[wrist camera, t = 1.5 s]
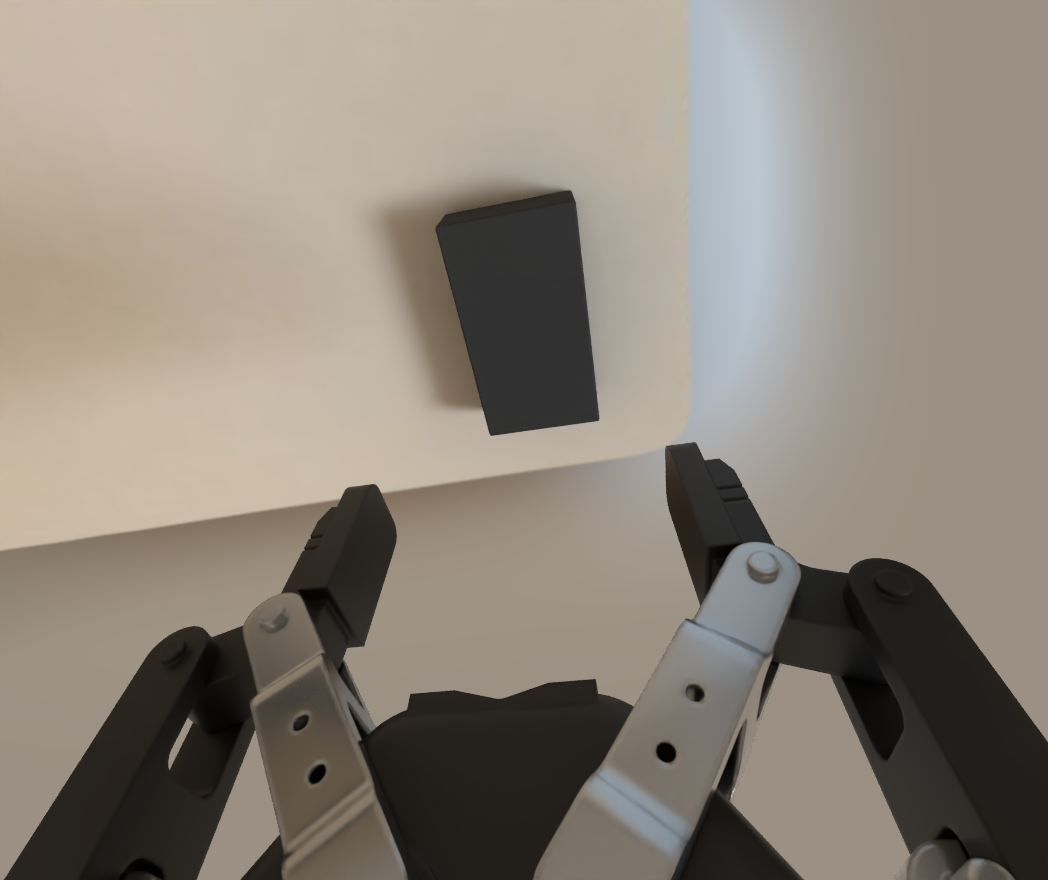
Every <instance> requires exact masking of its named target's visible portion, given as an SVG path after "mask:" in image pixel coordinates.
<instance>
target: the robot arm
mask: <svg viewBox="0 0 1048 880" xmlns="http://www.w3.org/2000/svg"><path fill="white" fill-rule="evenodd" d="M665 459H666V460H665V461H666V494H667V502H668V506H669V511H670V514H671V517H672V521H673V524H674V526H675V530H676V533H677V536H678V539H679V542H680V545H681V548H682V551H683V554H684V557H685V560H686V563H687V566H688V570H689V573H690V576H691V579H692V582H693V585H694V588H695V591H696V594H697V597H698V600H699V603H700V608H699V610H698V612H697V614H696V615H695V617H694V618H693V619H692V620H690V619H685V620H684V621H683V622H682V623H681V625H680V626H679V628H678V629H677V631H676V633H675V635H674V636H673V638H672V640H671V642H670V644H669V645H668V647H667V649H666V651H665V653H664V654H663V656H662V658H661V660H660V661H659V664H658V665H657V667H656V669H655V670H654V672H653V674H652V676H651V678H650V679H649V681H648V683H647V685H646V686H645V688H644V690H643V692H642V693H641V695H640V697H639V699H638V700H637V702H636V704H635V706H634V707H633V706H632V705H630V704H628V703H626V702H624V701H621V700H619V699H616V698H613V697H610V696H607V695H602V694H598V690H597V684H596V679H592V680H578V681H566V682H553V683H547V684H544V685H541V686H538V687H535V688H532V689H529V690H527V691H524V692H521V693H518V694H515V695H512V696H509V697H506V698H503V699H494V698H490V697H485V696H480V695H475V694H470V693H464V692H460V691H455V690H454V691H442V692H429V693H417V694H410V699H409V704H408V708H407V710H406V711H403V712H401V713H399V714H397V715H395V716H393V717H391V718H389V719H388V720H386V721H385V722H383V723H382V724H380V725H379V726H378V727H376V726H375V724H374V722H373V720H372V719H371V717H370V714H369V712H368V710H367V708H366V706H365V703H364V701H363V699H362V697H361V695H360V693H359V690H358V688H357V686H356V684H355V682H354V679H353V677H352V675H351V673H350V671H349V669H348V666H347V664H346V663H345V661H344V660H343V657H344V655H345V652H346V649H347V648H351V647H361V646H364V645H365V641H366V638H367V635H368V632H369V629H370V625H371V622H372V618H373V616H374V612H375V609H376V606H377V602H378V600H379V596H380V593H381V590H382V587H383V584H384V580H385V577H386V574H387V570H388V568H389V564H390V561H391V558H392V555H393V551H394V548H395V545H396V538H397V535H396V527H395V523H394V521H393V519H392V516H391V514H390V512H389V510H388V507H387V505H386V503H385V501H384V499H383V496H382V494H381V492H380V490H379V488H378V487H377V486H376V485H375V484H370V485H363V486H355V487H349V488H347V489H346V490H345V492H344V494H343V496H342V498H341V500H340V502H339V504H338V506H337V507H332V508H331V509H330V510H329V511H328V512H327V513H326V514H325V515H324V516H323V517H322V518H321V519H320V520H319V521H318V522H317V524H316V526H315V529H314V530H313V532H312V534H311V539H309V540H308V542H307V544H306V546H305V548H304V549H305V551H303V552H302V554H301V556H300V558H299V559H298V562H297V563H296V565H295V567H294V570H293V571H292V573H291V575H290V577H289V579H288V581H287V583H286V585H285V587H284V589H283V591H282V593H281V594H278V595H276V596H273V597H271V598H269V599H267V600H266V601H264V602H263V603H261V604H260V605H259V606H258V607H256V609H254V610H253V611H252V613H251V614H250V615H249V616H248V618H247V619H246V621H245V623H244V625H243V626H241V627H238V628H236V629H233V630H231V631H228V632H225V633H222V634H220V635H217V636H214V637H211V636H210V635H209V634H208V633H207V632H206V631H205V630H204V629H203V628H201V627H196V626H192V627H187V628H184V629H181V630H178V631H176V632H174V633H173V634H171V635H169V636H168V637H166V638H165V639H163V640H162V641H161V642H160V643H159V644H158V645H156V646H155V647H154V648H153V650H152V651H151V652H150V653H149V654H148V656H147V657H146V659H145V660H144V662H143V663H142V665H141V666H140V668H139V670H138V671H137V673H136V674H135V676H134V677H133V679H132V680H131V682H130V684H129V685H128V687H127V689H126V690H125V692H124V693H123V695H122V696H121V698H120V699H119V701H118V702H117V704H116V705H115V707H114V709H113V711H112V712H111V713H110V715H109V716H108V718H107V720H106V721H105V723H104V724H103V726H102V727H101V729H100V731H99V732H98V734H97V735H96V737H95V738H94V740H93V741H92V743H91V745H90V746H89V748H88V749H87V751H86V753H85V754H84V755H83V757H82V759H81V760H80V762H79V763H78V765H77V766H76V768H75V770H74V771H73V773H72V774H71V776H70V777H69V779H68V781H67V782H66V784H65V785H64V787H63V788H62V790H61V791H60V793H59V795H58V796H57V798H56V799H55V801H54V802H53V804H52V806H51V807H50V809H49V810H48V812H47V813H46V815H45V816H44V818H43V820H42V821H41V823H40V824H39V826H38V827H37V829H36V831H35V832H34V834H33V835H32V837H31V838H30V840H29V842H28V843H27V845H26V846H25V848H24V849H23V851H22V852H21V854H20V856H19V857H18V859H17V860H16V862H15V864H14V865H13V866H12V868H11V870H10V871H9V873H8V875H7V876H6V878H5V879H4V880H196V879H197V877H198V874H199V872H200V869H201V867H202V864H203V862H204V859H205V856H206V854H207V851H208V849H209V846H210V844H211V841H212V839H213V836H214V833H215V831H216V828H217V826H218V823H219V821H220V818H221V815H222V813H223V810H224V808H225V805H226V803H227V800H228V798H229V795H230V793H231V790H232V787H233V785H234V782H235V780H236V777H237V775H238V772H239V769H240V767H241V764H242V762H243V759H244V757H245V754H246V752H247V749H248V747H249V744H250V741H251V739H252V736H253V734H254V731H255V730H256V734H257V738H258V742H259V746H260V751H261V755H262V759H263V764H264V768H265V772H266V777H267V780H268V785H269V789H270V794H271V798H272V802H273V806H274V811H275V815H276V819H277V823H278V828H279V832H280V835H279V836H278V837H277V838H276V840H275V841H274V842H273V843H272V844H271V845H270V846H269V848H268V849H267V850H266V851H265V852H264V853H263V854H262V856H261V857H260V858H259V859H258V860H257V861H256V863H255V864H254V865H253V866H252V867H251V868H250V869H249V871H248V872H247V873H246V874H245V875H244V876H243V877H242V879H241V880H804V879H802V877H801V876H800V875H799V874H798V873H797V872H796V871H795V870H794V869H793V868H792V867H791V866H790V865H789V864H788V863H787V861H786V860H785V859H784V858H783V857H782V856H781V855H780V854H779V853H778V852H777V851H776V850H775V849H774V848H773V847H772V846H771V845H770V844H769V842H768V841H767V840H766V839H765V838H764V837H763V836H762V835H761V834H760V833H759V832H758V831H757V830H756V829H755V828H754V827H753V826H752V825H751V824H750V822H749V821H748V820H747V819H746V818H745V817H744V816H743V815H742V814H741V813H740V812H739V811H738V810H737V809H736V808H735V807H734V805H733V804H732V801H733V799H734V796H735V794H736V791H737V788H738V785H739V783H740V780H741V777H742V774H743V772H744V769H745V766H746V763H747V761H748V758H749V754H750V751H751V748H752V744H753V740H754V737H755V734H756V731H757V728H758V725H759V723H760V720H761V717H762V715H763V712H764V709H765V707H766V704H767V702H768V699H769V696H770V694H771V691H772V688H773V686H774V683H775V680H776V678H777V675H778V673H779V670H780V667H781V664H786V665H791V666H796V667H800V668H804V669H809V670H814V671H818V672H823V673H828V674H830V675H831V677H832V679H833V682H834V684H835V686H836V688H837V691H838V693H839V695H840V697H841V700H842V702H843V704H844V706H845V709H846V711H847V713H848V715H849V718H850V720H851V722H852V724H853V727H854V729H855V731H856V733H857V735H858V738H859V740H860V742H861V745H862V747H863V749H864V751H865V754H866V756H867V758H868V760H869V763H870V765H871V767H872V769H873V772H874V774H875V776H876V778H877V781H878V783H879V785H880V787H881V790H882V792H883V794H884V796H885V799H886V801H887V803H888V805H889V808H890V810H891V812H892V815H893V817H894V819H895V821H896V824H897V826H898V828H899V830H900V833H901V835H902V837H903V839H904V841H905V844H906V846H907V848H908V851H909V853H910V856H909V858H908V859H907V860H906V862H905V863H904V864H903V866H902V867H901V868H900V870H899V871H898V872H897V873H896V875H895V876H894V878H893V880H1048V742H1047V741H1046V739H1045V738H1044V736H1043V735H1042V734H1041V732H1040V731H1039V729H1038V728H1037V727H1036V725H1035V724H1034V723H1033V721H1032V720H1031V719H1030V717H1029V716H1028V715H1027V713H1026V712H1025V711H1024V709H1023V708H1022V706H1021V705H1020V703H1019V702H1018V701H1017V699H1016V698H1015V697H1014V695H1013V694H1012V693H1011V691H1010V690H1009V688H1008V687H1007V686H1006V684H1005V683H1004V682H1003V680H1002V679H1001V677H1000V676H999V675H998V674H997V672H996V671H995V669H994V668H993V667H992V665H991V664H990V662H989V661H988V660H987V658H986V657H985V656H984V654H983V653H982V652H981V650H980V649H979V647H978V646H977V645H976V643H975V642H974V641H973V639H972V638H971V636H970V635H969V634H968V633H967V631H966V630H965V628H964V627H963V626H962V624H961V623H960V622H959V620H958V619H957V617H956V616H955V615H954V613H953V612H952V611H951V609H950V608H949V606H948V605H947V604H946V602H945V601H944V600H943V598H942V597H941V595H940V594H939V593H938V591H937V590H936V589H935V587H934V586H933V585H932V583H931V582H930V581H929V580H928V579H927V578H926V577H925V576H923V575H922V574H921V573H920V572H918V571H916V570H915V569H913V568H911V567H910V566H907V565H905V564H903V563H900V562H897V561H893V560H889V559H881V558H872V559H866V560H862V561H860V562H858V563H856V564H855V565H854V566H852V568H851V569H850V571H849V573H843V572H835V571H829V570H822V569H816V568H811V567H808V566H804V565H802V564H799V563H797V561H796V560H795V559H794V558H793V557H792V556H791V555H790V554H789V553H788V552H786V551H785V550H783V549H781V548H779V547H777V546H775V544H774V543H773V541H772V539H771V538H770V536H769V534H768V532H767V530H766V528H765V526H764V525H763V523H762V521H761V519H760V517H759V515H758V513H757V512H756V510H755V508H754V506H753V504H752V502H751V501H750V499H749V498H748V495H747V493H746V491H745V490H744V488H743V487H742V484H741V482H740V480H739V478H738V476H737V474H736V473H735V471H734V470H733V469H732V468H731V467H729V466H728V465H727V464H726V463H724V462H723V461H722V460H720V459H713V460H704V459H703V456H702V454H701V452H700V450H699V448H698V446H697V444H696V443H695V442H693V443H685V444H678V445H670V446H666V449H665ZM187 718H189V719H190V720H191V721H192V722H193V724H192V726H191V728H190V730H189V732H188V734H187V736H186V738H185V740H184V742H183V744H182V746H181V748H180V750H179V752H178V754H177V757H176V758H175V760H174V762H173V764H172V766H171V769H170V770H169V768H168V759H169V754H170V751H171V749H172V747H173V745H174V743H175V741H176V739H177V737H178V735H179V733H180V731H181V729H182V727H183V725H184V724H185V722H186V720H187Z"/></svg>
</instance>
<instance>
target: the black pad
mask: <svg viewBox="0 0 1048 880" xmlns="http://www.w3.org/2000/svg"><path fill="white" fill-rule="evenodd" d="M435 229H436V233H437V237H438V241H439V244H440V248H441V252H442V256H443V259H444V263H445V267H446V271H447V275H448V278H449V282H450V286H451V290H452V294H453V297H454V301H455V305H456V309H457V312H458V316H459V320H460V324H461V328H462V331H463V335H464V339H465V343H466V346H467V350H468V354H469V358H470V362H471V365H472V369H473V373H474V377H475V380H476V384H477V388H478V392H479V396H480V399H481V403H482V407H483V411H484V415H485V418H486V422H487V426H488V430H489V433H490V435H491V436H493V435H500V434H508V433H515V432H522V431H529V430H536V429H543V428H551V427H558V426H565V425H572V424H579V423H586V422H594V421H599V411H598V401H597V392H596V383H595V374H594V365H593V356H592V347H591V338H590V329H589V320H588V310H587V301H586V292H585V283H584V274H583V265H582V256H581V247H580V238H579V228H578V219H577V210H576V202H575V199H574V197H573V194H572V192H571V191H564V192H559V193H554V194H549V195H544V196H539V197H533V198H528V199H523V200H518V201H513V202H508V203H503V204H498V205H492V206H487V207H482V208H477V209H472V210H467V211H462V212H457V213H451V214H446V215H445V216H444V217H443V218H442V220H441V221H440V222H439V223H438V225H437V226H436V228H435Z"/></svg>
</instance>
